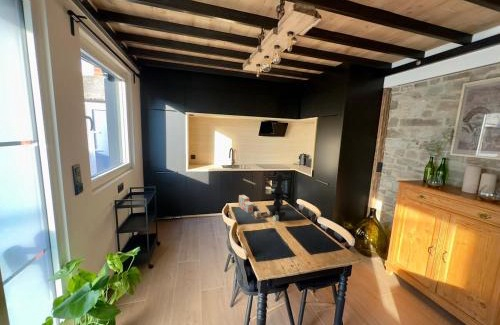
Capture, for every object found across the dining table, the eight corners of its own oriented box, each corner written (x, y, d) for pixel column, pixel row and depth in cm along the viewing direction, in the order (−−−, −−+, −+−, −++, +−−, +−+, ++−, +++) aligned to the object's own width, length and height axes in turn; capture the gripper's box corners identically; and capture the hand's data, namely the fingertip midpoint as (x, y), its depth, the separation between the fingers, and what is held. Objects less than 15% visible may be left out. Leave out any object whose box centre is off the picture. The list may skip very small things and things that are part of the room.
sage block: (276, 219, 184) (277, 215, 184) (279, 221, 180) (279, 217, 180) (272, 220, 182) (273, 215, 182) (275, 222, 178) (275, 217, 178)
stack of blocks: (253, 213, 196) (253, 201, 194) (247, 214, 193) (248, 201, 191) (243, 205, 215) (244, 194, 213) (238, 206, 212) (238, 195, 210)
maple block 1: (258, 215, 189) (258, 210, 188) (260, 217, 185) (261, 212, 184) (254, 216, 187) (254, 211, 186) (256, 217, 183) (256, 213, 182)
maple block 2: (270, 213, 195) (271, 208, 194) (273, 215, 191) (273, 210, 191) (266, 213, 193) (267, 209, 192) (269, 215, 189) (269, 211, 189)
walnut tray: (270, 212, 199) (270, 210, 199) (276, 217, 189) (276, 214, 189) (250, 215, 189) (251, 213, 189) (256, 220, 180) (256, 218, 179)
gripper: (264, 200, 183) (263, 216, 186) (275, 207, 167) (274, 225, 169) (274, 199, 188) (273, 214, 191) (286, 206, 172) (285, 223, 174)
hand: (276, 219), depth 181 cm, fingers open, 9 cm apart
